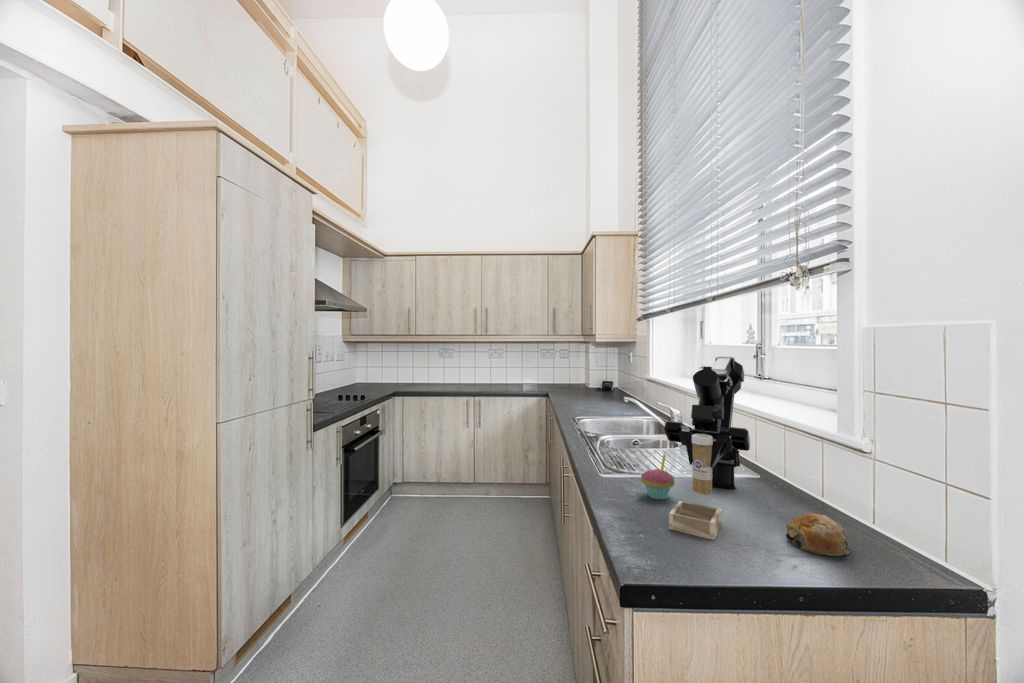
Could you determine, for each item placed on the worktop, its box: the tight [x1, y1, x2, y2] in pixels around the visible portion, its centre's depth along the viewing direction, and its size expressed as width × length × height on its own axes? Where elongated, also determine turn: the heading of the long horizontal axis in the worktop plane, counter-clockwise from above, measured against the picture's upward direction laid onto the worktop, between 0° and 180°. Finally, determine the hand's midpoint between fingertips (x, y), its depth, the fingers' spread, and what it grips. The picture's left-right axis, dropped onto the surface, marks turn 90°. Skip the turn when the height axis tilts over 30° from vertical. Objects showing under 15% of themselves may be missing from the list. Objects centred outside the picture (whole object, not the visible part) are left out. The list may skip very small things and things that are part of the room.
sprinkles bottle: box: [691, 434, 714, 495], centre depth 101 cm, size 5×5×14 cm
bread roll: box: [785, 513, 850, 557], centre depth 86 cm, size 10×10×8 cm
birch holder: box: [668, 500, 723, 541], centre depth 95 cm, size 9×9×4 cm
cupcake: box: [640, 452, 675, 500], centre depth 113 cm, size 9×8×12 cm
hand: (700, 465), depth 100 cm, fingers closed on sprinkles bottle, 4 cm apart
